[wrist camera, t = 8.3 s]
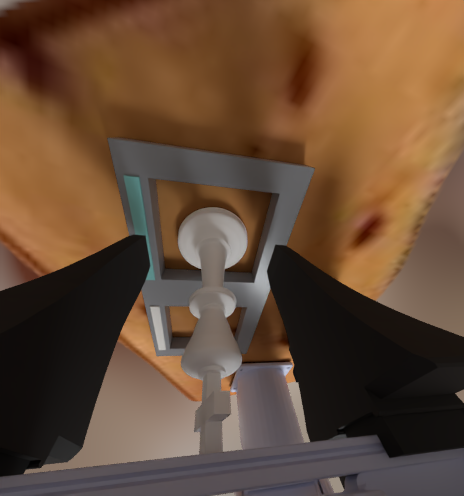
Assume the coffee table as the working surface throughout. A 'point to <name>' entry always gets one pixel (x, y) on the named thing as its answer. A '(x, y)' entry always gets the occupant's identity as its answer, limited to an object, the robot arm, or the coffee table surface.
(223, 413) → the chess piece
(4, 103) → the coffee table surface
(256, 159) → the port panel
